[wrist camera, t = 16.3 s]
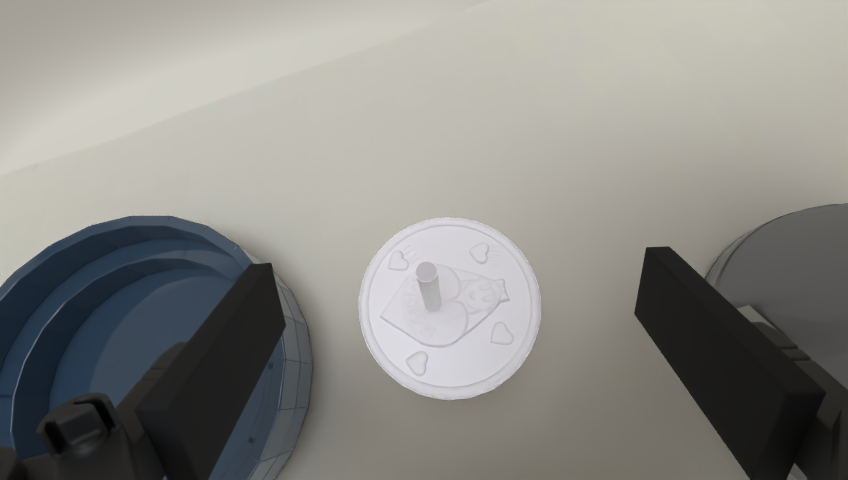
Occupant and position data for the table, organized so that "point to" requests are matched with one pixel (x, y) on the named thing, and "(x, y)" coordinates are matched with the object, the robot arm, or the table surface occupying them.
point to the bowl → (139, 332)
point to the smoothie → (449, 308)
